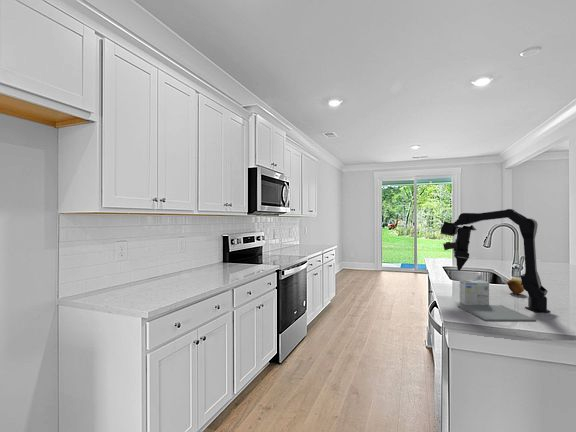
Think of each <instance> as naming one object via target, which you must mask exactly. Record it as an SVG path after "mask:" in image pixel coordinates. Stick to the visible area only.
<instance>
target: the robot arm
mask: <svg viewBox="0 0 576 432" xmlns="http://www.w3.org/2000/svg"><path fill="white" fill-rule="evenodd" d="M500 219H509V220H510V221H512V222H513V223H514V224H516V225H517V226H518V229H519V231H520V234H521V236H522V240H523V252H524V253H523V254H524V268H525V272H524V273H523V274H521V275H520V280H521V281H522V283H521V285H523V288H524V291H525V292H527V294H528V298H527V300H528V303H527V305H528V306H525V307H524V308H525V309H527V310H530V311H533V312H535V313H551V310H549V309H548V297H547V296H546V295H547V294H548V290H547V289H546V288H545V287H544V286H543V285H542V282H541V281H542V280H541V278H540V275H539V273H538V268H537V267H538V266H537V254H536V253H537V249H536V236H537V233H538V231H537V230H538V224H539V223H538V222H537V220H535V219H533V218H528V217H526V216H524V215H523V214H521V213H519V212H517V211H516V210H515V209H513V208H506V209H502V210H496V211H487V212H486V211H485V212H478V213H477V212H463V213H460V214H459V215H458V218H457V219H456V220H455V221H454V222H451V221H450V222H449V221H443V224H441V225H442V226H441V228H440V233H441V234H442V235H445V236H450V237H455V236H456V238H455V240H454V241H446V242H443V243H442V245H443V250H444V251H448V250H453V257H454V258H455V260H456V268H457V271H461V270H462V268H463V267H464V266H465V263H467V261H468V260H469V259H470V253H469V246H470V240H471V233H472V231H477V228H475V226H474V225H473V224H476V223H479V222H481V221H482V222H483V221H489V220H490V221H491V220H500Z"/></svg>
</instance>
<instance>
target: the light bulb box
mask: <svg viewBox="0 0 576 432" xmlns="http://www.w3.org/2000/svg"><path fill="white" fill-rule="evenodd" d="M459 302H460V303H461V305H490V282H488V281H486V280H483V279H459Z"/></svg>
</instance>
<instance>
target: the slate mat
mask: <svg viewBox="0 0 576 432" xmlns="http://www.w3.org/2000/svg"><path fill="white" fill-rule="evenodd" d="M457 308H460V309H462V310H464V311H466V312H467V313H469V314H471V315H473V316H475V317H477V318H479V319H480V320H482V321H484V322H537V319H536V318H533V317H531V316H528V315H526V314H524V313H521V312H519V311H517V310H514V309H511V308H509V307H506V306H504V305H501V304H496V305H495V304H494V305H493V304H489V305H464V304H457Z"/></svg>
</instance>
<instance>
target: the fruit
mask: <svg viewBox="0 0 576 432" xmlns="http://www.w3.org/2000/svg"><path fill="white" fill-rule="evenodd" d="M521 283H522V280H521V278H520V279H519V278H518V277H517V278H516V277H515V278H511V279H509V280H508V281H507V282H506V284H507V286H508V289H509V290H510V292H512V294H515V295H519V294H521V293H523V292H524V291H525V289H524V288H523V285H521Z"/></svg>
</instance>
